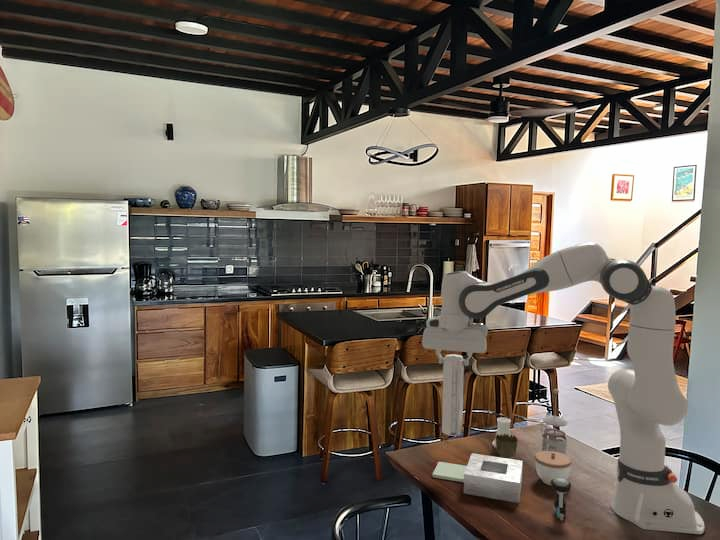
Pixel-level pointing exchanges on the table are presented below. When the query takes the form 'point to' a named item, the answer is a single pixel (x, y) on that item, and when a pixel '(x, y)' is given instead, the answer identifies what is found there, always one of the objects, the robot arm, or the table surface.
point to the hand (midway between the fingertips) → (453, 364)
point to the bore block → (493, 477)
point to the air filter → (452, 395)
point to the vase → (502, 427)
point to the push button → (560, 495)
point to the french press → (554, 433)
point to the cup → (506, 445)
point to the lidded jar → (552, 465)
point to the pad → (449, 471)
